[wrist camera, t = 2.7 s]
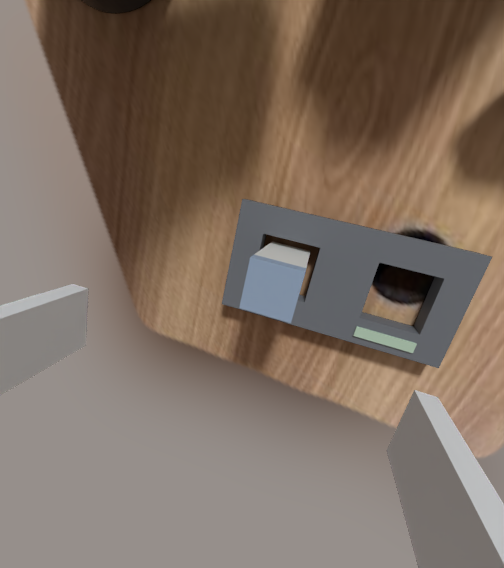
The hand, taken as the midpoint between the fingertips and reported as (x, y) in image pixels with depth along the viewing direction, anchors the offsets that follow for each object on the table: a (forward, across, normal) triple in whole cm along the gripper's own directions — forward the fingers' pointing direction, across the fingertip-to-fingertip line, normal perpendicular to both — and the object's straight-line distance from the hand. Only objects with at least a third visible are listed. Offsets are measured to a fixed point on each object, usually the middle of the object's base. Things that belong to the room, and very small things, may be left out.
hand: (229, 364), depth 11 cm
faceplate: (+20, +5, 0) cm, 21 cm away
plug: (+20, 0, 0) cm, 20 cm away
